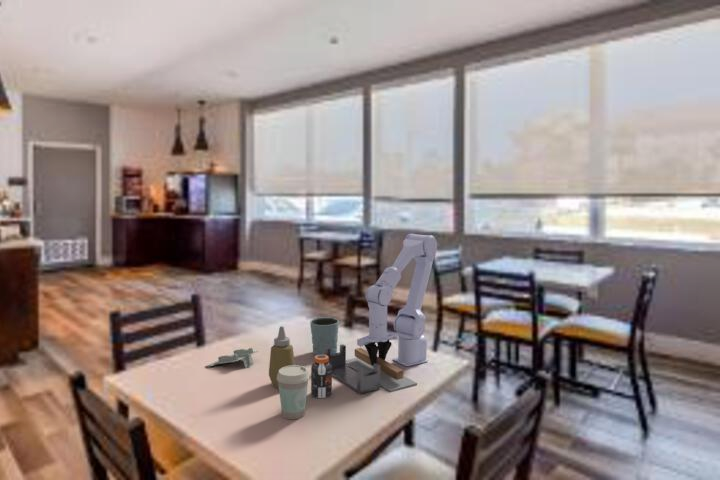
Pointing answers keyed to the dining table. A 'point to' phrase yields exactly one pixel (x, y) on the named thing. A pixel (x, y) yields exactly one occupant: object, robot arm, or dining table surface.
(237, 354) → the metal bracket
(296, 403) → the coffee cup
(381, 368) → the walnut bar
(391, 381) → the grey mat
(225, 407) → the dining table surface
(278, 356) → the squeeze bottle
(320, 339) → the teal tumbler
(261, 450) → the dining table surface
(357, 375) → the dark grey cradle
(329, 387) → the pill bottle
